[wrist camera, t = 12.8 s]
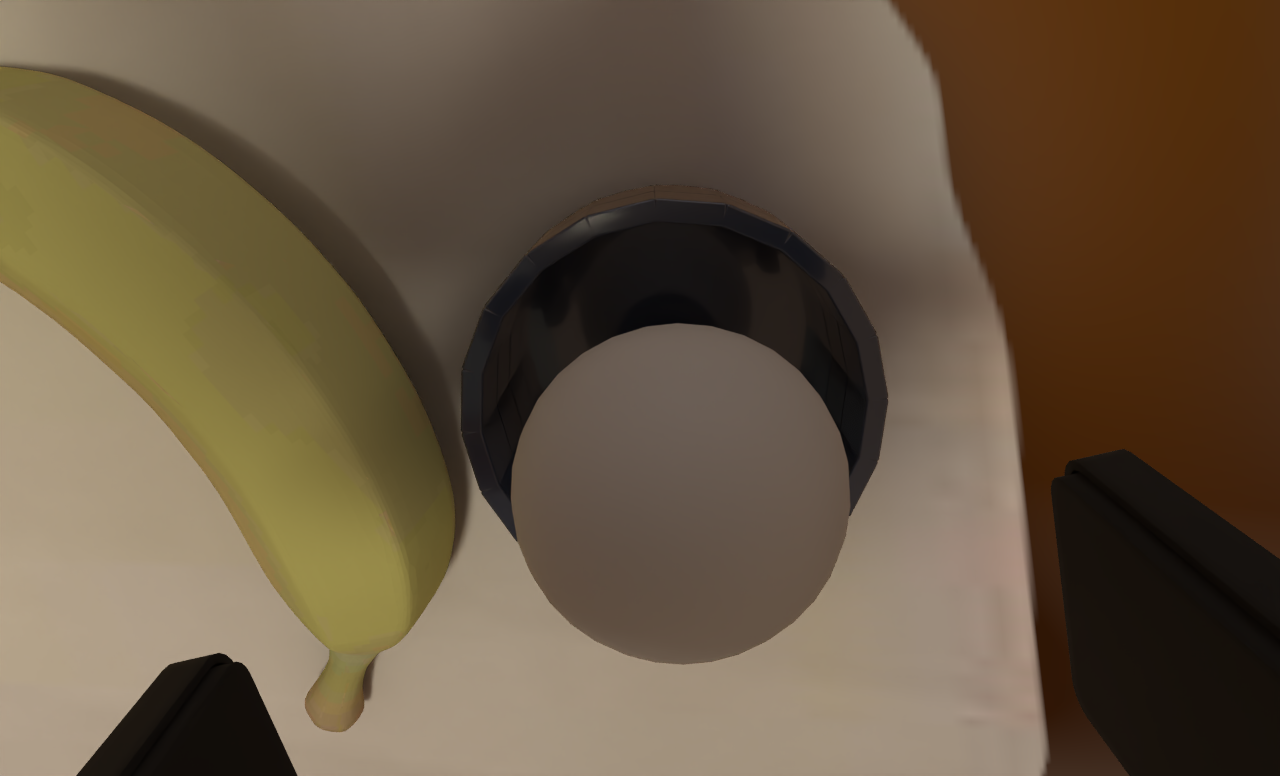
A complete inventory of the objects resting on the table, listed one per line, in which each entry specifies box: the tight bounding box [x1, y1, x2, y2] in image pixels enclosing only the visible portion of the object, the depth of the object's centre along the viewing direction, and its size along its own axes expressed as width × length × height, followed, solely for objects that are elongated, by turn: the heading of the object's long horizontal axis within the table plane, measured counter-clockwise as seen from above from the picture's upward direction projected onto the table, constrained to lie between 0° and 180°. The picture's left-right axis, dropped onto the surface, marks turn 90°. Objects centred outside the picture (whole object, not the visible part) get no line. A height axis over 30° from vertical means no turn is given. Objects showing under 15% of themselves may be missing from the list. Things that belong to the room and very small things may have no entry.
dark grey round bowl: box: [461, 185, 888, 542], centre depth 22 cm, size 10×10×4 cm
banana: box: [0, 67, 455, 732], centre depth 23 cm, size 14×6×20 cm
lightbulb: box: [511, 323, 850, 664], centre depth 18 cm, size 6×6×11 cm
